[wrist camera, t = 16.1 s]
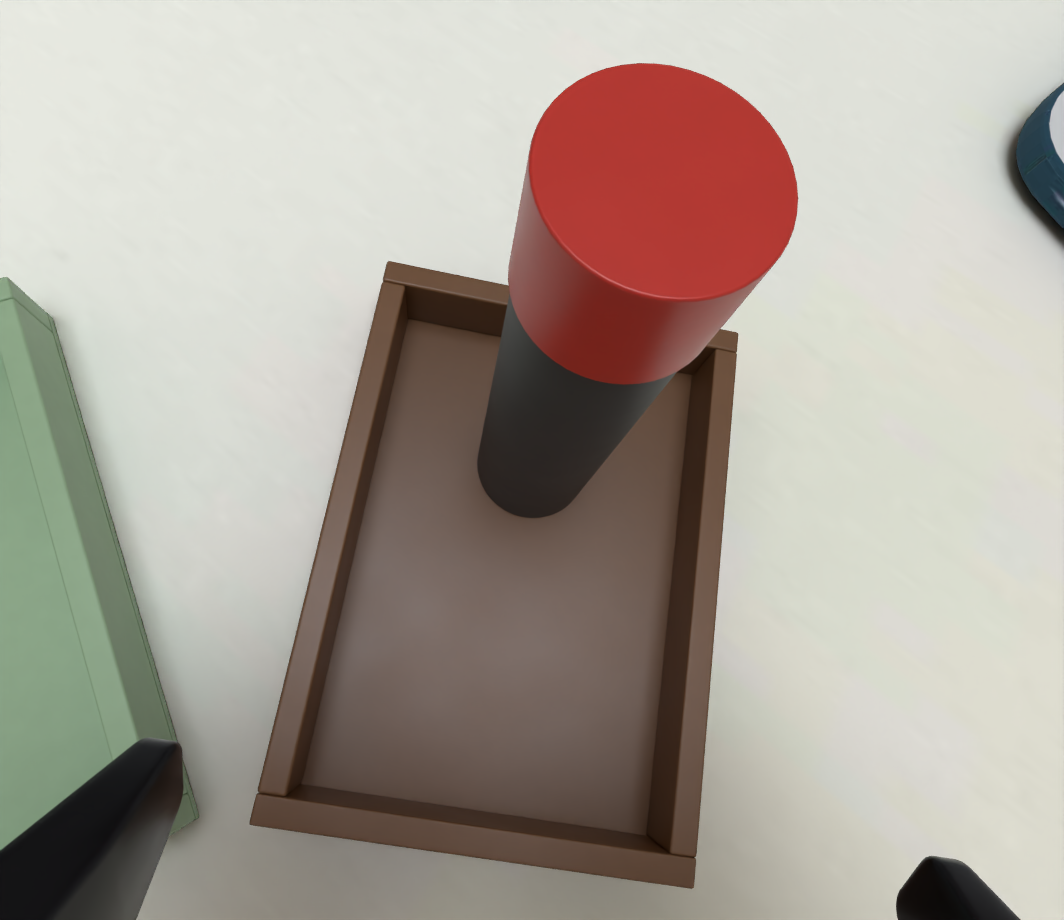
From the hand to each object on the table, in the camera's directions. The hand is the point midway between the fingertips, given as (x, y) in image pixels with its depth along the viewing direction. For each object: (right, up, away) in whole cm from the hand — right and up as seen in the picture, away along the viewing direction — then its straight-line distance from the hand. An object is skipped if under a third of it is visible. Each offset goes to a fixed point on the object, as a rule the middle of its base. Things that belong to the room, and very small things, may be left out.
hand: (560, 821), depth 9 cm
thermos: (0, +4, +14) cm, 15 cm away
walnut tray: (-1, +1, +14) cm, 14 cm away
